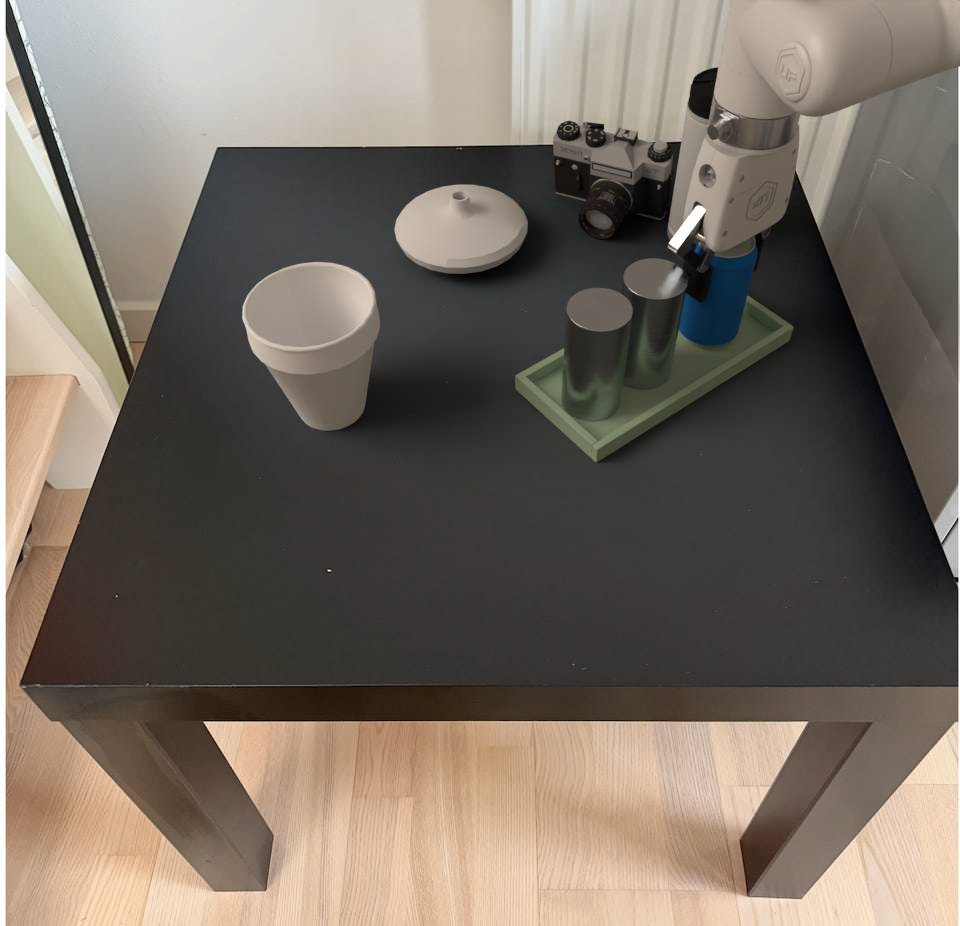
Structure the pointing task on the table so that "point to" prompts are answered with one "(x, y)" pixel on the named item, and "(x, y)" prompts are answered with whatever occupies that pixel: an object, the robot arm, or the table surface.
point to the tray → (647, 408)
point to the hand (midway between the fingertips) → (717, 279)
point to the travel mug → (691, 142)
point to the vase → (461, 229)
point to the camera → (611, 175)
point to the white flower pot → (316, 338)
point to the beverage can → (720, 296)
